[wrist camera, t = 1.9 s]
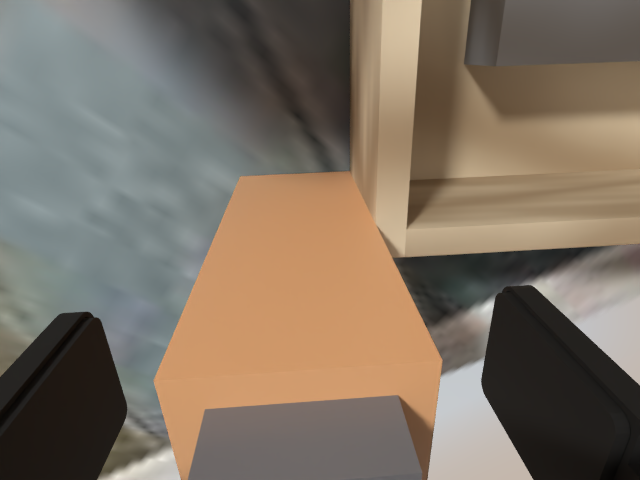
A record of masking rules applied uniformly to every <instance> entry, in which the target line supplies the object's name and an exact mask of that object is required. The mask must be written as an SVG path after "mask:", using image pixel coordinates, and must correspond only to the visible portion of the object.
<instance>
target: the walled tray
mask: <svg viewBox="0 0 640 480" xmlns="http://www.w3.org/2000/svg"><path fill="white" fill-rule="evenodd" d="M350 173H351V175H352V177H353V179H354V181H355V183H356V185H357V187H358V189H359V191H360V193H361V195H362V197H363V199H364V201H365V203H366V205H367V207H368V210H369V212H370V214H371V216H372V218H373V220H374V222H375V224H376V226H377V228H378V230H379V232H380V234H381V236H382V238H383V240H384V242H385V244H386V246H387V248H388V250H389V252H390V254H391V256H392V258H400V257H418V256H435V255H453V254H470V253H488V252H505V251H523V250H540V249H558V248H575V247H593V246H610V245H628V244H640V0H350Z"/></svg>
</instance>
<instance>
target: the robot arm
mask: <svg viewBox="0 0 640 480" xmlns="http://www.w3.org/2000/svg"><path fill="white" fill-rule="evenodd" d="M481 380H482V381H481V382H482V388H483V392H484V394H485V396H486V398H487V400H488V401H489V403H490V405H491V407H492V408H493V410H494V412H495V414H496V415H497V417H498V419H499V421H500V422H501V424H502V426H503V427H504V429H505V431H506V433H507V434H508V436H509V438H510V440H511V441H512V443H513V445H514V447H515V448H516V450H517V452H518V454H519V455H520V457H521V459H522V460H523V462H524V464H525V466H526V467H527V469H528V471H529V473H530V474H531V476H532V478H533V479H534V480H640V385H639V384H638V383H637V382H635V381H634V380H633V379H632V378H631V377H630V376H629V375H628V374H627V373H626V372H625V371H624V370H622V369H621V368H620V367H619V366H618V365H617V364H616V363H615V362H614V361H613V360H612V359H611V358H610V357H609V356H608V355H606V354H605V353H604V352H603V351H602V350H601V349H600V348H599V347H598V346H597V345H596V344H595V343H594V342H593V341H591V340H590V339H589V338H588V337H587V336H586V335H585V334H584V333H583V332H582V331H581V330H580V329H579V328H578V327H576V326H575V325H574V324H573V323H572V322H571V321H570V320H569V319H568V318H567V317H566V316H565V315H564V314H563V313H561V312H560V311H559V310H558V309H557V308H556V307H555V306H554V305H553V304H552V303H551V302H550V301H549V300H548V299H546V298H545V297H544V296H543V295H542V294H541V293H540V292H539V291H538V290H537V289H536V288H535V287H533V286H531V285H524V286H508V287H505V288H504V289H503V291H502V293H498V294H497V296H496V298H495V303H494V309H493V315H492V321H491V326H490V332H489V338H488V344H487V349H486V355H485V361H484V367H483V373H482V379H481ZM126 415H127V404H126V400H125V397H124V394H123V390H122V387H121V384H120V381H119V377H118V374H117V371H116V368H115V364H114V361H113V358H112V355H111V351H110V348H109V345H108V342H107V339H106V335H105V332H104V329H103V326H102V323H101V320H100V319H99V318H94V317H93V315H92V314H91V313H90V312H75V313H62V314H60V315H58V316H57V317H56V318H55V319H54V320H53V321H52V322H51V323H50V324H49V325H48V327H47V328H46V329H45V330H44V331H43V332H42V333H41V334H40V335H39V336H38V337H37V338H36V339H35V340H34V342H33V343H32V344H31V345H30V346H29V347H28V348H27V349H26V350H25V351H24V352H23V353H22V354H21V355H20V357H19V358H18V359H17V360H16V361H15V362H14V363H13V364H12V365H11V366H10V367H9V368H8V369H7V370H6V372H5V373H4V374H3V375H2V376H1V377H0V480H97V478H98V476H99V474H100V472H101V470H102V468H103V466H104V464H105V462H106V459H107V457H108V455H109V453H110V451H111V449H112V447H113V445H114V442H115V440H116V438H117V436H118V434H119V432H120V430H121V428H122V426H123V423H124V421H125V419H126Z"/></svg>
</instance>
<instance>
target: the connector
mask: <svg viewBox="0 0 640 480" xmlns="http://www.w3.org/2000/svg"><path fill="white" fill-rule="evenodd" d="M441 368H442V358H441V356H440V354H439V352H438V350H437V348H436V346H435V344H434V342H433V340H432V338H431V336H430V334H429V332H428V330H427V328H426V326H425V324H424V322H423V320H422V318H421V316H420V314H419V311H418V309H417V307H416V305H415V303H414V301H413V299H412V297H411V295H410V293H409V291H408V289H407V287H406V285H405V283H404V281H403V279H402V277H401V275H400V273H399V271H398V269H397V267H396V265H395V263H394V260H393V258H392V256H391V254H390V252H389V250H388V248H387V246H386V244H385V242H384V240H383V238H382V236H381V234H380V232H379V230H378V228H377V226H376V224H375V222H374V220H373V218H372V216H371V214H370V212H369V210H368V207H367V205H366V203H365V201H364V199H363V197H362V195H361V193H360V191H359V189H358V187H357V185H356V183H355V181H354V179H353V177H352V175H351V173H350V171H341V172H321V173H300V174H279V175H258V176H240V178H239V180H238V183H237V185H236V187H235V190H234V192H233V195H232V197H231V199H230V202H229V204H228V206H227V209H226V211H225V213H224V216H223V218H222V221H221V223H220V225H219V228H218V230H217V232H216V235H215V237H214V239H213V242H212V244H211V246H210V249H209V251H208V254H207V256H206V258H205V261H204V263H203V265H202V268H201V270H200V272H199V275H198V277H197V280H196V282H195V284H194V287H193V289H192V291H191V294H190V296H189V298H188V301H187V303H186V305H185V308H184V310H183V313H182V315H181V317H180V320H179V322H178V324H177V327H176V329H175V331H174V334H173V336H172V339H171V341H170V343H169V346H168V348H167V350H166V353H165V355H164V357H163V360H162V362H161V364H160V367H159V369H158V372H157V374H156V376H155V379H154V384H155V387H156V391H157V394H158V398H159V402H160V405H161V409H162V412H163V416H164V420H165V423H166V427H167V430H168V434H169V438H170V441H171V445H172V448H173V452H174V456H175V459H176V463H177V466H178V470H179V474H180V477H181V480H427V478H428V469H429V462H430V453H431V447H432V438H433V431H434V423H435V415H436V407H437V399H438V391H439V383H440V376H441Z"/></svg>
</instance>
